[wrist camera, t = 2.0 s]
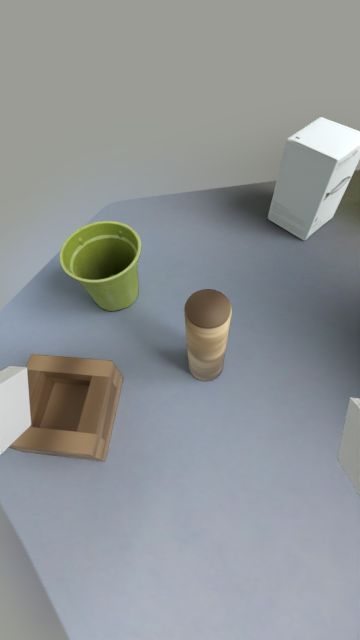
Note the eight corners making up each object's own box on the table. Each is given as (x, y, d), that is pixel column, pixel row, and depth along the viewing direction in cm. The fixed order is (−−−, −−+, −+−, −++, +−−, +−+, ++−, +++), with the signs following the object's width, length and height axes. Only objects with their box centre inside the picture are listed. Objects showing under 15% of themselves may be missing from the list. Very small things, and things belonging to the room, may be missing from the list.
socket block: (123, 378, 36) (112, 360, 32) (105, 461, 31) (90, 454, 27) (50, 371, 37) (31, 354, 33) (22, 451, 32) (-5, 443, 28)
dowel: (223, 351, 37) (232, 289, 26) (222, 382, 35) (231, 329, 24) (190, 348, 37) (186, 287, 27) (187, 379, 35) (181, 326, 25)
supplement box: (304, 242, 45) (337, 160, 35) (265, 219, 48) (284, 137, 38) (333, 218, 48) (373, 134, 37) (294, 197, 51) (320, 114, 40)
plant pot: (162, 278, 43) (154, 232, 36) (130, 332, 39) (114, 292, 32) (106, 260, 46) (88, 213, 38) (70, 309, 41) (42, 266, 34)
